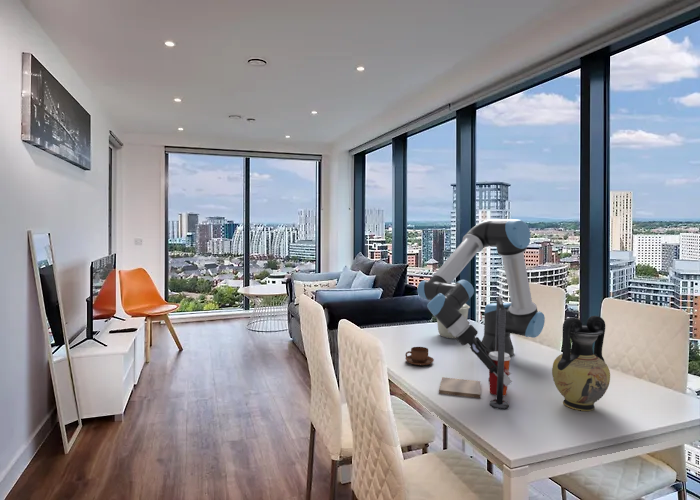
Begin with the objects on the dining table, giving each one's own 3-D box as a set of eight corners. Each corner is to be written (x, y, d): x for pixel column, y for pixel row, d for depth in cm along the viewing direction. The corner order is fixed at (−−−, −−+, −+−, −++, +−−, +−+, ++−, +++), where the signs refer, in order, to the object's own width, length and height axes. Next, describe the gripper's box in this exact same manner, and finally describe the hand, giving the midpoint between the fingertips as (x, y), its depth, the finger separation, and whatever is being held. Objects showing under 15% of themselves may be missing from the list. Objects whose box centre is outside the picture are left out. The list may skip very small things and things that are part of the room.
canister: (432, 338, 235) (433, 298, 233) (436, 331, 252) (437, 293, 251) (468, 342, 229) (469, 300, 228) (469, 333, 247) (470, 295, 245)
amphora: (582, 420, 138) (586, 323, 136) (539, 400, 154) (542, 313, 152) (621, 411, 145) (625, 319, 143) (576, 393, 161) (579, 309, 159)
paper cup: (511, 397, 155) (512, 357, 155) (487, 395, 157) (489, 356, 156) (507, 389, 163) (509, 351, 162) (485, 388, 165) (486, 350, 164)
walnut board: (480, 384, 168) (480, 381, 168) (480, 398, 155) (480, 394, 155) (442, 380, 172) (442, 377, 172) (438, 393, 159) (438, 390, 159)
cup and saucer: (416, 369, 186) (416, 354, 185) (399, 361, 196) (400, 347, 196) (439, 365, 191) (439, 350, 191) (422, 357, 202) (422, 344, 201)
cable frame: (488, 378, 175) (491, 294, 173) (504, 379, 174) (507, 295, 172) (490, 408, 146) (493, 308, 145) (509, 410, 145) (513, 309, 143)
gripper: (456, 331, 173) (499, 376, 170) (453, 344, 153) (501, 396, 150) (471, 318, 171) (514, 364, 168) (470, 330, 152) (519, 383, 148)
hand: (508, 379), depth 159 cm, fingers closed on paper cup, 8 cm apart
